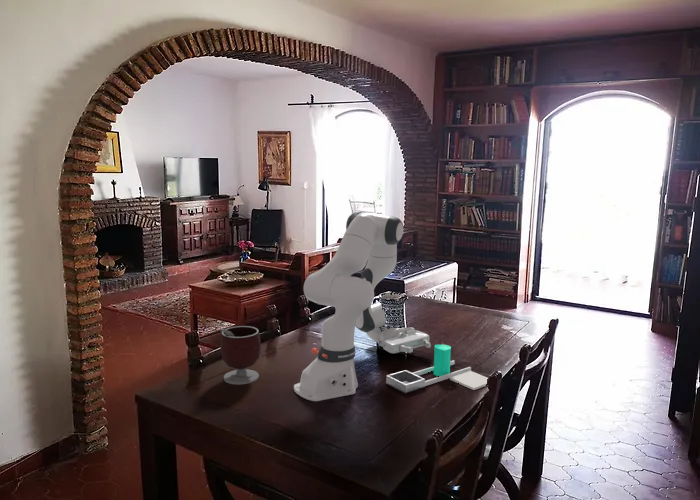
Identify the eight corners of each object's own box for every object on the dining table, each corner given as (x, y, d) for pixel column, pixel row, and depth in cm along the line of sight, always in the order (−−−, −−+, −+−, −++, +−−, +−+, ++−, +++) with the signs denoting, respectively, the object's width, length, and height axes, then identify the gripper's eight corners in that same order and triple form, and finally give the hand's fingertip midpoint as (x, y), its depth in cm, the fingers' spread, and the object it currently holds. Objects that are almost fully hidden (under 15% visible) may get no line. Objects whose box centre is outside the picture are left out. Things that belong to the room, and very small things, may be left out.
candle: (431, 375, 199) (432, 343, 197) (436, 369, 204) (437, 339, 202) (447, 378, 196) (448, 346, 194) (452, 372, 201) (453, 341, 199)
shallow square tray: (405, 393, 183) (405, 385, 182) (386, 383, 191) (386, 375, 190) (424, 387, 188) (425, 379, 188) (405, 377, 196) (405, 370, 195)
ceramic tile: (473, 390, 186) (474, 388, 186) (449, 379, 195) (450, 377, 195) (494, 382, 193) (494, 380, 192) (470, 372, 201) (470, 370, 201)
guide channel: (424, 386, 189) (424, 382, 189) (407, 378, 196) (407, 374, 195) (470, 371, 203) (471, 367, 203) (453, 363, 210) (453, 360, 210)
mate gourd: (244, 367, 204) (242, 315, 201) (269, 376, 196) (268, 323, 192) (209, 379, 193) (207, 325, 189) (234, 390, 184) (233, 333, 181)
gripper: (376, 335, 212) (400, 345, 201) (414, 326, 224) (439, 335, 213) (376, 351, 213) (400, 361, 202) (414, 341, 225) (438, 350, 214)
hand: (420, 348), depth 208 cm, fingers open, 8 cm apart
